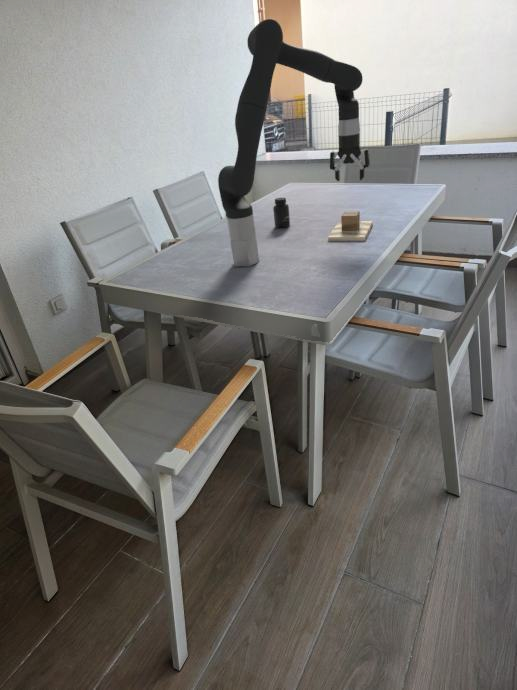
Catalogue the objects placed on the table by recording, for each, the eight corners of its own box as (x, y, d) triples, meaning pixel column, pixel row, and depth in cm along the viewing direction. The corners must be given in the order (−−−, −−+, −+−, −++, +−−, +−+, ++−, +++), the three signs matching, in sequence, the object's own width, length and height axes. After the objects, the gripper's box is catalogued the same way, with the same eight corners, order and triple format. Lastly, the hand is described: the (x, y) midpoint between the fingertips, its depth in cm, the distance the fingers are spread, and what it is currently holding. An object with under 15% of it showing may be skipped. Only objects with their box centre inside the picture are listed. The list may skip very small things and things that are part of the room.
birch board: (364, 240, 166) (364, 236, 165) (328, 241, 171) (327, 237, 170) (372, 224, 181) (372, 220, 181) (338, 225, 187) (338, 221, 186)
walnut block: (357, 230, 172) (356, 215, 169) (341, 231, 174) (341, 215, 171) (359, 226, 177) (359, 211, 174) (344, 226, 179) (344, 211, 176)
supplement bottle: (289, 228, 192) (286, 200, 186) (273, 229, 194) (270, 201, 187) (291, 223, 198) (288, 196, 192) (276, 224, 199) (273, 197, 193)
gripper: (327, 136, 158) (328, 183, 166) (367, 132, 152) (367, 181, 161) (331, 133, 163) (333, 179, 172) (370, 129, 158) (370, 177, 166)
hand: (349, 180), depth 166 cm, fingers open, 8 cm apart
